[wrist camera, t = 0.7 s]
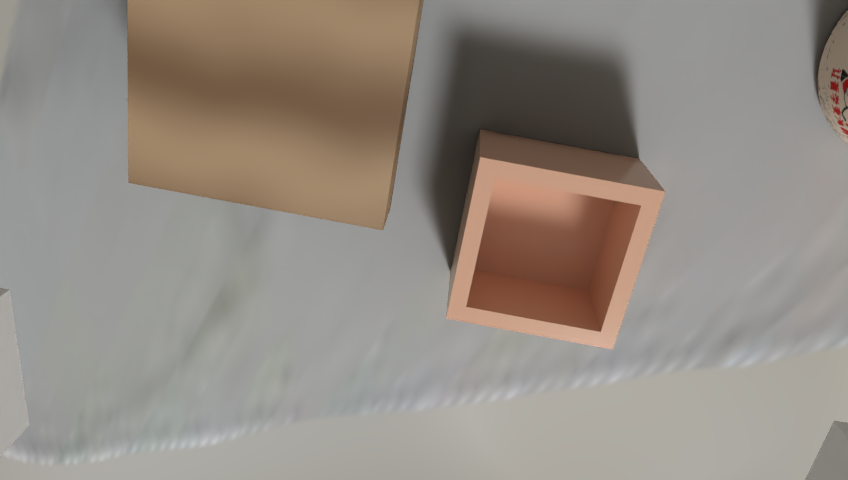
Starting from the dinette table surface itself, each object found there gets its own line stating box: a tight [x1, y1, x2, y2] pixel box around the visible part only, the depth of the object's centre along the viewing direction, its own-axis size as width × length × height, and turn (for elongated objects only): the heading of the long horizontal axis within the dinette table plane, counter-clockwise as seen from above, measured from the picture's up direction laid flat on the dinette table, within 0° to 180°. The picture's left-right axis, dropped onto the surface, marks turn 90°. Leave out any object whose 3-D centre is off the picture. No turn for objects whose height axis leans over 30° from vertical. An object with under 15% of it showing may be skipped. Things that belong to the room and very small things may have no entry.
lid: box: [127, 0, 424, 230], centre depth 28 cm, size 11×11×2 cm
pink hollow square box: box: [446, 129, 665, 349], centre depth 32 cm, size 8×8×5 cm
